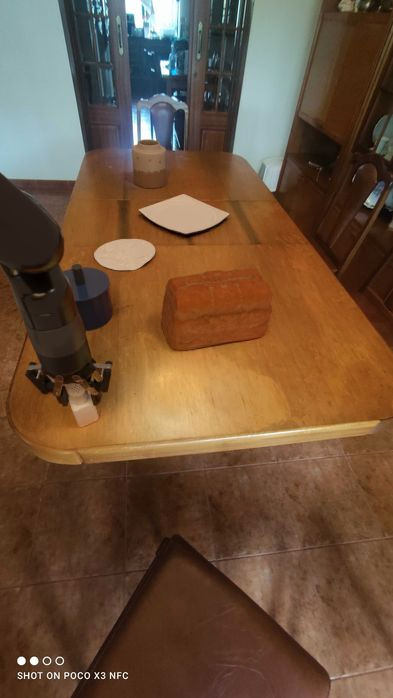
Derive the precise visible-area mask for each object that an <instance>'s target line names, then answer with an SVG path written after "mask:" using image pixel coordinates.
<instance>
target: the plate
mask: <svg viewBox="0 0 393 698" xmlns="http://www.w3.org/2000/svg"><path fill="white" fill-rule="evenodd" d="M138 212H139V213H140V214H141V215H142V216H144V217H145V218H146V219H147V220H149V221H150V222H151V223H153V224H155V225H157V226H159V227H161V228H163V229H165V230H167V231H170V232H173V233H175V234H179V235H183V236H190V235H194V234H197V233H201V232H204V231H208V230H209V229H211V228H213V227H216V226H217V225H220V223H222V222H223V221H224V220H225V219H227V218H228V217H229V216H230V213H229V212H227V211H225V210H223V209H220V208H217V207H215V206H212V205H210V204H208V203H206V202H203V201H201V200H199V199H196V198H194V197H192V196H189V195H187V194H185V193H182V194H179V195H177V196H174V197H171V198H167V199H165V200H162V201H159V202H157V203H154V204H151V205H148V206H147V205H146V206H145V207H142V208H139V209H138Z"/></svg>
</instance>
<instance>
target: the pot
mask: <svg viewBox="0 0 393 698" xmlns="http://www.w3.org/2000/svg"><path fill="white" fill-rule="evenodd" d="M76 305H77V309H78V312H79V314H80V316H81V318H82V321H83V325H84V326H85V330H86V332H88V331H93V330H97V329H99V328H102V327H104V326H105V325H106V324H108V323H110V321H111V319H112V317H113V313H114V312H113V311H114V309H113V302H112V297H111V290H110V287H109V288H108V290H107V291H106V292H105V293H104V294H102V295H101V296H99V297H97V298H95V299H92V300H89V301H84V302H76Z"/></svg>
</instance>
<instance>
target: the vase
mask: <svg viewBox="0 0 393 698" xmlns="http://www.w3.org/2000/svg"><path fill="white" fill-rule="evenodd" d="M131 157H132V172H133V183H134V185H135V186H137V187H139V188H141V189H142V188H143V189H151V190H153V189H155V190H156V189H160V188H163V187H165V186H166V184H167V149H166V147H165V146H163V145H162V144H161V142H160V141H159V140H156V139H150V138H147V139H139V140H138V141H137V144H134V145H133V146H132V147H131Z"/></svg>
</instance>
